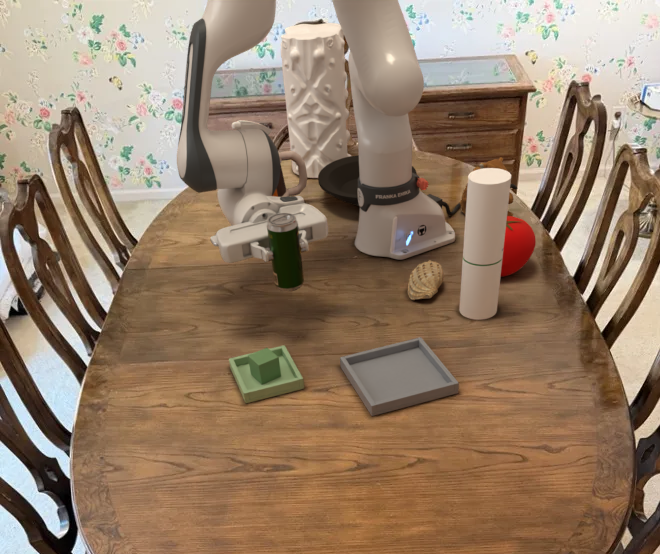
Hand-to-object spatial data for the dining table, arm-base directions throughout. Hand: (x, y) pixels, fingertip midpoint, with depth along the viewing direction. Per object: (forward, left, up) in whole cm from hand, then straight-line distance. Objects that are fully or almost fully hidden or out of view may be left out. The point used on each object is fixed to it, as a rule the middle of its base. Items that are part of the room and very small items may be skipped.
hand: (287, 252), depth 125 cm
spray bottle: (-5, -42, -17) cm, 46 cm away
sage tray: (+9, +11, -17) cm, 22 cm away
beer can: (0, -1, -7) cm, 7 cm away
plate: (-35, -54, -17) cm, 67 cm away
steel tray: (-12, +21, -17) cm, 29 cm away
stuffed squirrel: (-55, -31, -17) cm, 65 cm away
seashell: (-29, -5, -17) cm, 34 cm away
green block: (+9, +11, -16) cm, 21 cm away
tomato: (-46, -7, -17) cm, 50 cm away
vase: (-31, -79, -17) cm, 87 cm away
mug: (-11, -59, -17) cm, 63 cm away
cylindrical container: (-35, +6, -17) cm, 39 cm away
